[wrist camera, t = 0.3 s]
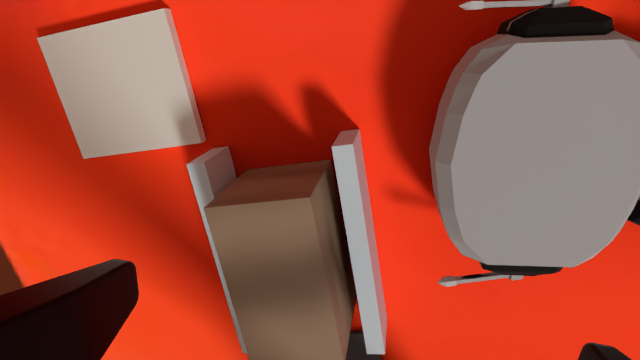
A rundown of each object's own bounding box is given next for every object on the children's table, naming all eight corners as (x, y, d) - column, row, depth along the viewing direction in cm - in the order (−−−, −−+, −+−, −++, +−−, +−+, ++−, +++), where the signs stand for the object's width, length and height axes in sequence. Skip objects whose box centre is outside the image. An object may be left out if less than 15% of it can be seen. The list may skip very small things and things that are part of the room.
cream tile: (206, 140, 22) (201, 142, 22) (90, 156, 24) (83, 159, 24) (170, 8, 20) (163, 8, 20) (45, 37, 22) (36, 37, 21)
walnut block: (356, 296, 24) (344, 365, 19) (280, 298, 25) (250, 364, 20) (331, 158, 21) (309, 197, 16) (247, 168, 23) (203, 208, 18)
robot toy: (810, -12, 16) (430, 7, 18) (970, -27, 12) (450, -1, 13) (715, 252, 20) (417, 245, 22) (807, 310, 16) (429, 295, 18)
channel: (386, 317, 24) (385, 354, 21) (259, 319, 26) (242, 353, 23) (359, 128, 20) (353, 144, 18) (212, 148, 22) (186, 164, 20)
